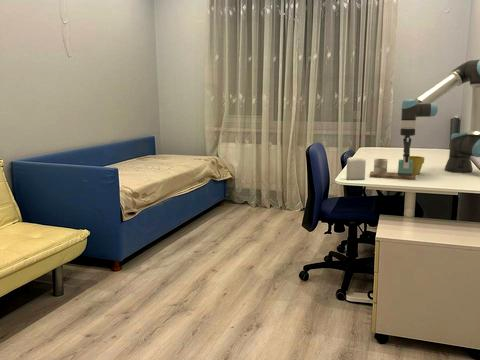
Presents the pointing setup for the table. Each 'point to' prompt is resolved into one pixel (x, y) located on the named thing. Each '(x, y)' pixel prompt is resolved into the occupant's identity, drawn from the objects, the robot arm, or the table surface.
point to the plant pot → (416, 163)
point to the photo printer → (356, 168)
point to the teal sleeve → (402, 170)
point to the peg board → (381, 171)
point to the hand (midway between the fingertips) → (405, 166)
